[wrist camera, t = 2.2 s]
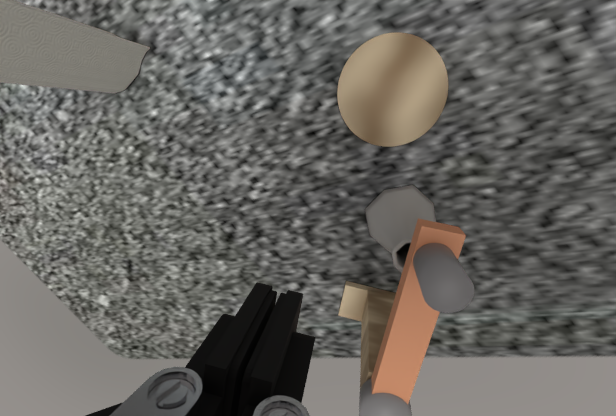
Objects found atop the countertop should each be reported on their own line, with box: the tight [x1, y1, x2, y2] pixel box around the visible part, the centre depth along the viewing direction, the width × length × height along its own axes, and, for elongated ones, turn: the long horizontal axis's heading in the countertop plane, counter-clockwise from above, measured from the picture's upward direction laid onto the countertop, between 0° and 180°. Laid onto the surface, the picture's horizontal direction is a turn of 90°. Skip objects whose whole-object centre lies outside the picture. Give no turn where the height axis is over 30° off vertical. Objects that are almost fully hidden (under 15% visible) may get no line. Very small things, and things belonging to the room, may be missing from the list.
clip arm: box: [359, 218, 474, 416], centre depth 20 cm, size 4×16×5 cm, turn 170°
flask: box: [365, 185, 436, 273], centre depth 29 cm, size 7×7×10 cm
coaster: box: [337, 33, 448, 147], centre depth 30 cm, size 10×10×1 cm
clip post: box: [338, 281, 396, 389], centre depth 31 cm, size 8×4×13 cm, turn 80°
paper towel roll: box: [0, 0, 150, 93], centre depth 25 cm, size 7×6×21 cm
